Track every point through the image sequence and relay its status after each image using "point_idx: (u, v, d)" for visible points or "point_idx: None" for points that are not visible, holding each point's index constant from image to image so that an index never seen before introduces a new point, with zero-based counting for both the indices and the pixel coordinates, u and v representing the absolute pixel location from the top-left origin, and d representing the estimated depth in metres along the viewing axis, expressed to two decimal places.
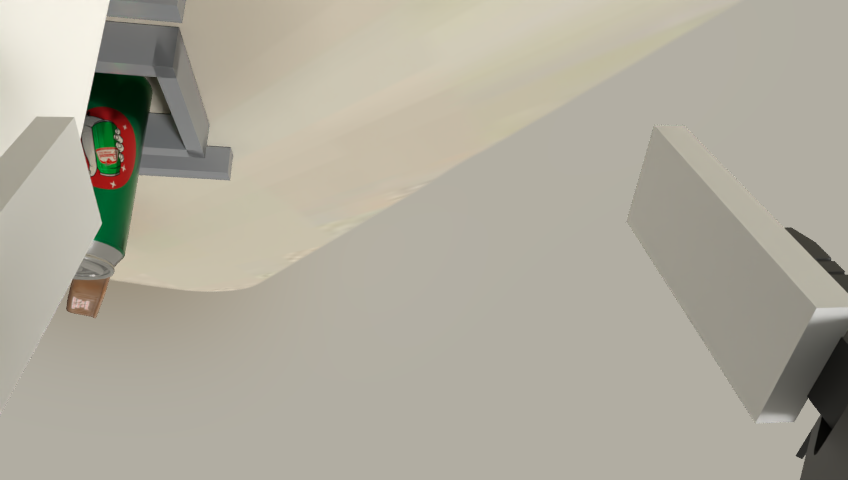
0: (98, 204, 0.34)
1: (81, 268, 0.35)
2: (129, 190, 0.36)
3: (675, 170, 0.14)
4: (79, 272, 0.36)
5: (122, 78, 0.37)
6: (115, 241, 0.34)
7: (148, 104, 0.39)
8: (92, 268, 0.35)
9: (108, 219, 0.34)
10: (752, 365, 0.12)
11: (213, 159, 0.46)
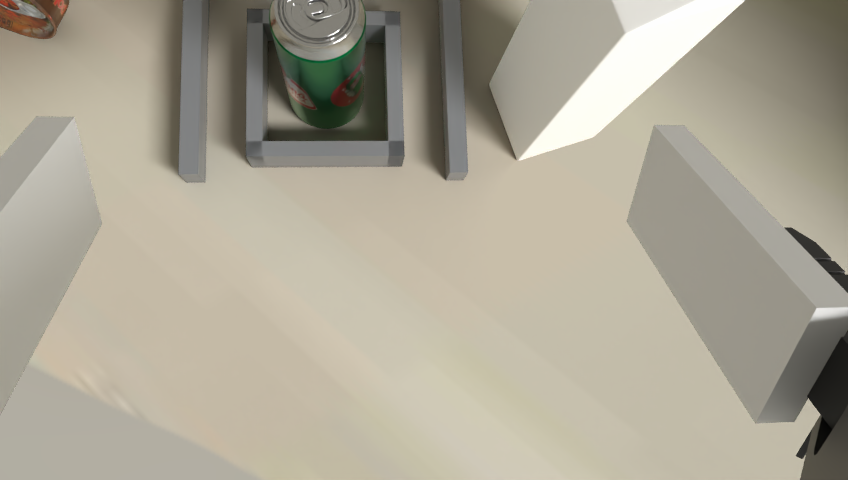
0: (356, 61, 0.36)
1: (316, 18, 0.33)
2: (329, 87, 0.37)
3: (676, 170, 0.14)
4: (290, 9, 0.34)
5: (356, 110, 0.44)
6: (336, 61, 0.34)
7: (325, 122, 0.43)
8: (318, 28, 0.33)
9: (347, 64, 0.36)
10: (752, 365, 0.12)
11: (202, 161, 0.43)
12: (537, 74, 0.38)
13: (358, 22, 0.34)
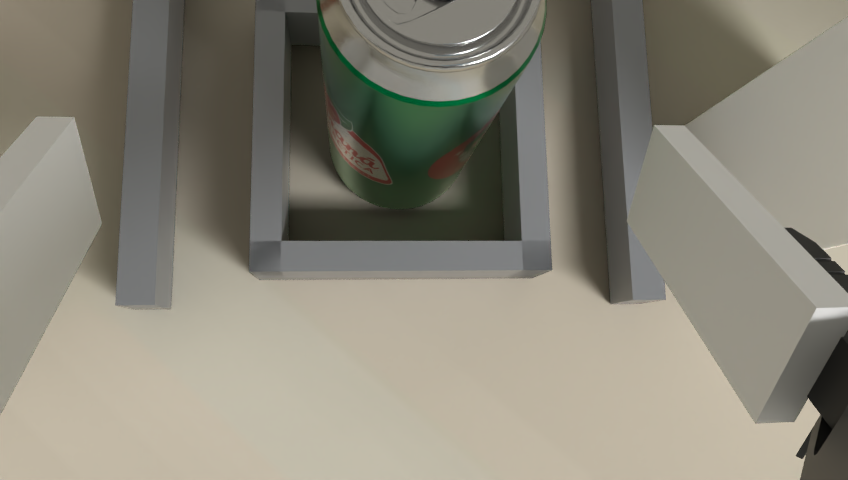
0: (505, 98, 0.16)
1: None
2: (436, 152, 0.17)
3: (676, 170, 0.14)
4: None
5: (455, 178, 0.23)
6: (476, 103, 0.14)
7: (400, 202, 0.23)
8: (445, 23, 0.13)
9: (492, 106, 0.15)
10: (752, 365, 0.12)
11: (164, 274, 0.22)
12: None
13: (537, 8, 0.14)
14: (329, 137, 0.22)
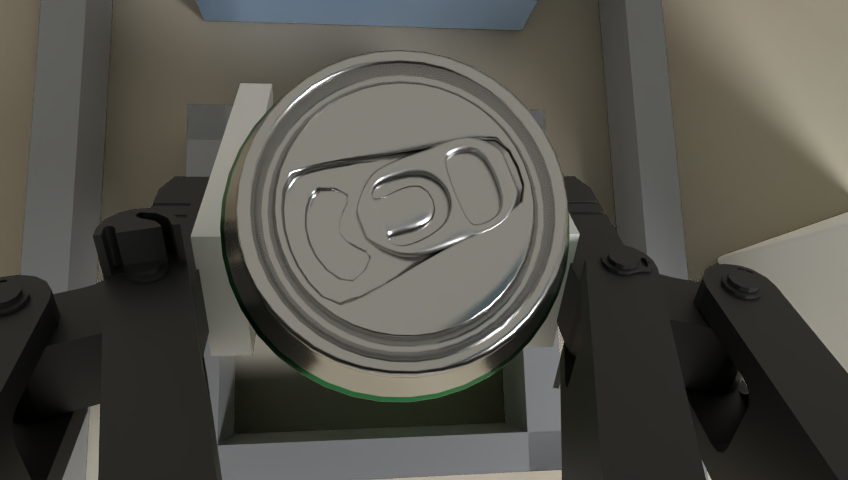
0: None
1: (407, 253, 0.08)
2: None
3: None
4: (301, 212, 0.08)
5: None
6: (466, 387, 0.09)
7: None
8: (416, 299, 0.08)
9: None
10: None
11: None
12: None
13: None
14: None
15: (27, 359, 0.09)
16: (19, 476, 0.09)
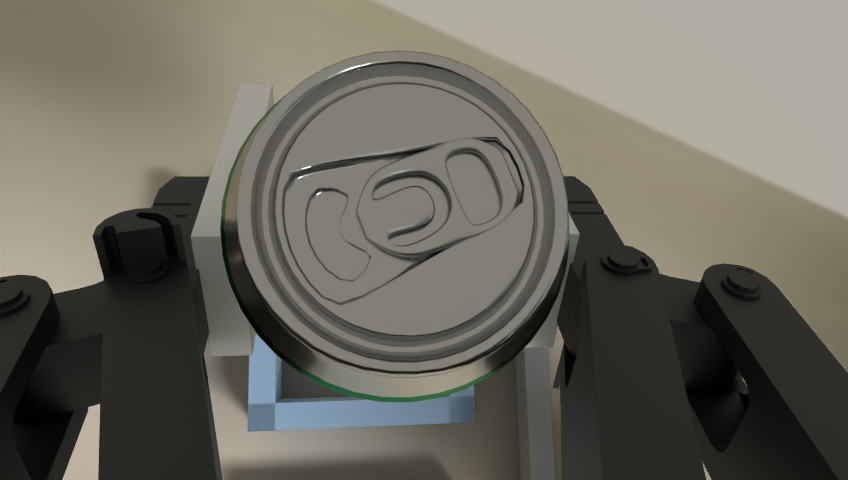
0: None
1: (407, 253, 0.08)
2: None
3: None
4: (301, 213, 0.08)
5: None
6: (466, 387, 0.09)
7: None
8: (416, 300, 0.08)
9: None
10: None
11: None
12: None
13: None
14: None
15: (27, 359, 0.09)
16: (19, 476, 0.09)
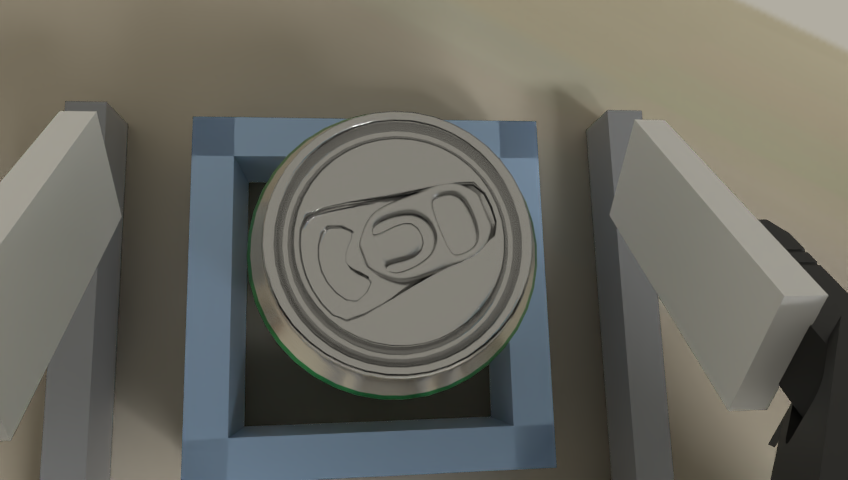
0: None
1: (400, 278, 0.10)
2: None
3: (654, 163, 0.15)
4: (314, 246, 0.10)
5: None
6: (450, 386, 0.11)
7: None
8: (408, 316, 0.10)
9: None
10: (725, 354, 0.12)
11: None
12: None
13: None
14: None
15: None
16: None
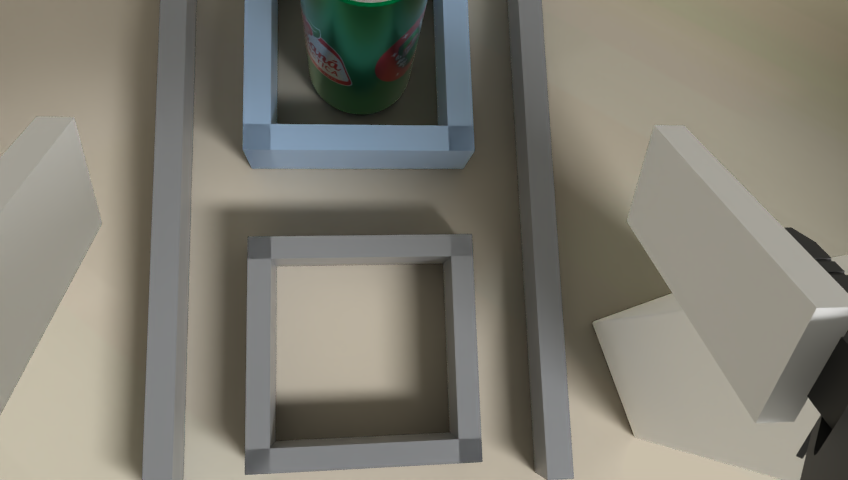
0: (419, 9, 0.25)
1: None
2: (377, 50, 0.26)
3: (675, 170, 0.14)
4: None
5: (401, 89, 0.32)
6: (394, 5, 0.23)
7: (361, 105, 0.31)
8: None
9: (408, 11, 0.24)
10: (752, 365, 0.12)
11: (178, 470, 0.28)
12: (711, 394, 0.24)
13: None
14: (307, 56, 0.30)
15: None
16: None
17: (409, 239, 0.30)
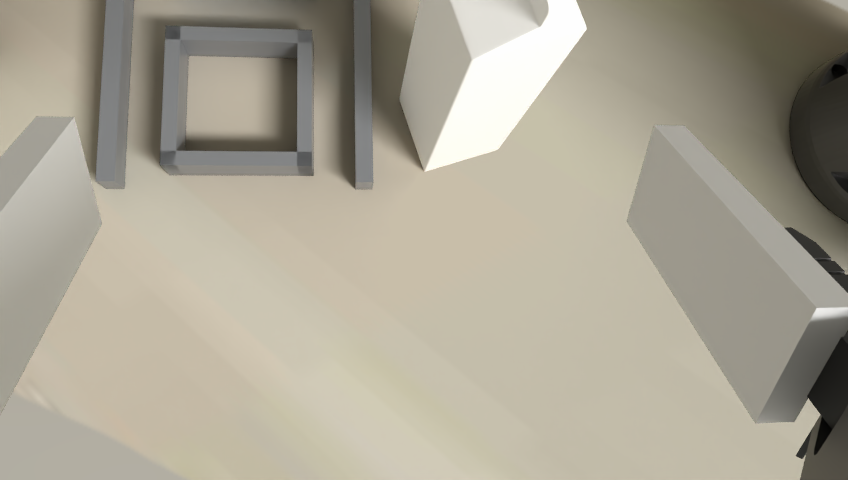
0: None
1: None
2: None
3: (675, 170, 0.14)
4: None
5: None
6: None
7: None
8: None
9: None
10: (752, 365, 0.12)
11: (120, 169, 0.45)
12: (426, 92, 0.40)
13: None
14: None
15: None
16: None
17: (270, 31, 0.46)
